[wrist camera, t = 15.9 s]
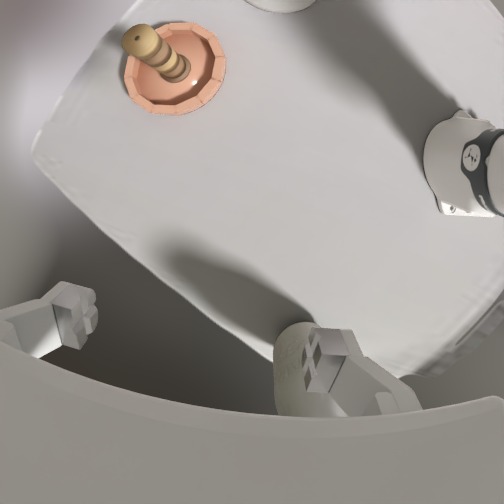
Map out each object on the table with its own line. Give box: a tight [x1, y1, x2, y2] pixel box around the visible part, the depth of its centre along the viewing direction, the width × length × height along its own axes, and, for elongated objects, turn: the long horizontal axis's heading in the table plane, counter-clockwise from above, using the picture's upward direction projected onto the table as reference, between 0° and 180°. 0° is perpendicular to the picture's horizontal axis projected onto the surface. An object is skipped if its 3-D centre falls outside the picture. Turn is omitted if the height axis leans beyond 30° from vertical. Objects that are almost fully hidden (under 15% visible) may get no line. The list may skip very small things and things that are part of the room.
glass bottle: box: [273, 322, 348, 417], centre depth 37 cm, size 10×10×28 cm
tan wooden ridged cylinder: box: [122, 24, 191, 83], centre depth 27 cm, size 4×4×14 cm
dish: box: [124, 23, 226, 115], centre depth 33 cm, size 14×14×3 cm
